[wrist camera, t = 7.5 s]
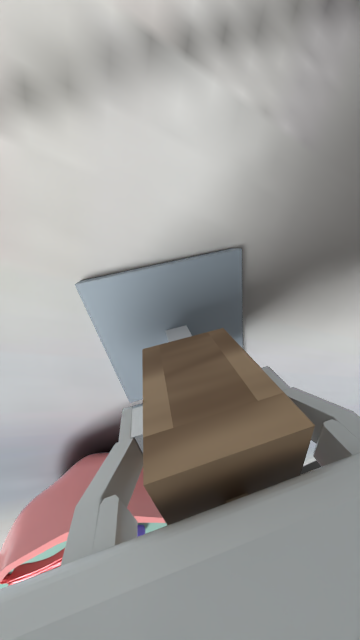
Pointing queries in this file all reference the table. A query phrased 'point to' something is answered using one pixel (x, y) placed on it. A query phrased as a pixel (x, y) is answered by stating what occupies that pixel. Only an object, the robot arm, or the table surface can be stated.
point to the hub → (163, 308)
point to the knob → (214, 426)
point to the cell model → (61, 522)
